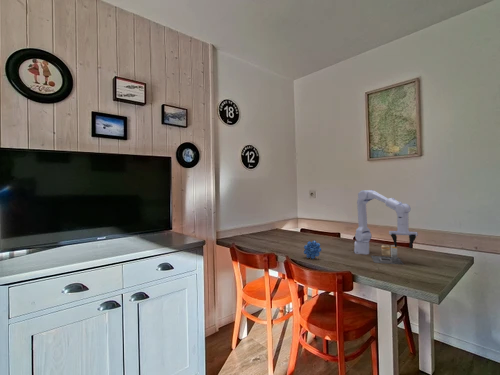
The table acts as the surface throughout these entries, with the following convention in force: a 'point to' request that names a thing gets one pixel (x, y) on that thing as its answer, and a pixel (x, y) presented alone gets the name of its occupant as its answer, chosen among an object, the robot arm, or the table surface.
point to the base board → (384, 259)
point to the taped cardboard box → (385, 250)
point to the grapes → (312, 249)
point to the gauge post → (393, 252)
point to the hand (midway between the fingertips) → (403, 247)
